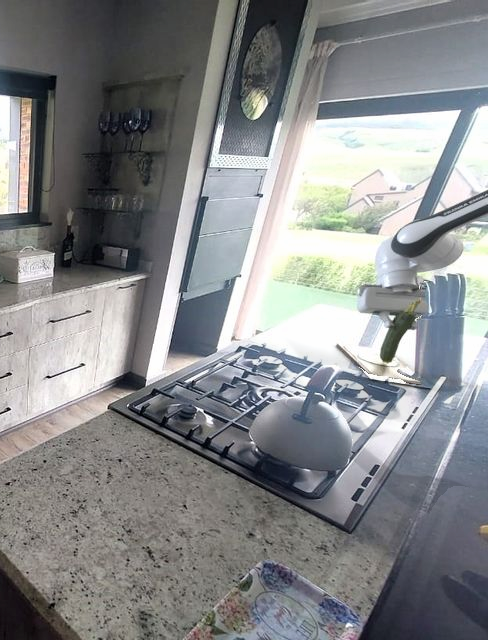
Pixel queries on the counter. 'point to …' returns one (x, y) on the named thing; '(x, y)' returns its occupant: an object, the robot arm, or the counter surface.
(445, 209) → the robot arm
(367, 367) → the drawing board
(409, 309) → the vegetable
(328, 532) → the counter surface
